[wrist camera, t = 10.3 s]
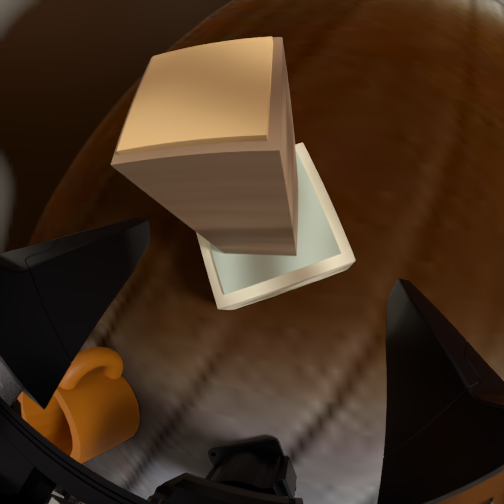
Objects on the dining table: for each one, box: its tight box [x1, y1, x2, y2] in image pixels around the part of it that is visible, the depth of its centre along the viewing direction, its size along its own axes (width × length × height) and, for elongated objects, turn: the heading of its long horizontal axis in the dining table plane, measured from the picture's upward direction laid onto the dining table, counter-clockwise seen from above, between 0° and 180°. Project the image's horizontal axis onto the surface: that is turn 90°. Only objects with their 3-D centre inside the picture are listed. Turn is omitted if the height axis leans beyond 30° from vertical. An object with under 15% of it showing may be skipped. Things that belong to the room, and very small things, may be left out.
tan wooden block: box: [111, 37, 299, 256], centre depth 14 cm, size 5×5×13 cm
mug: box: [18, 347, 140, 463], centre depth 19 cm, size 9×12×9 cm
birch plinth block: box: [196, 142, 356, 310], centre depth 22 cm, size 10×10×4 cm
